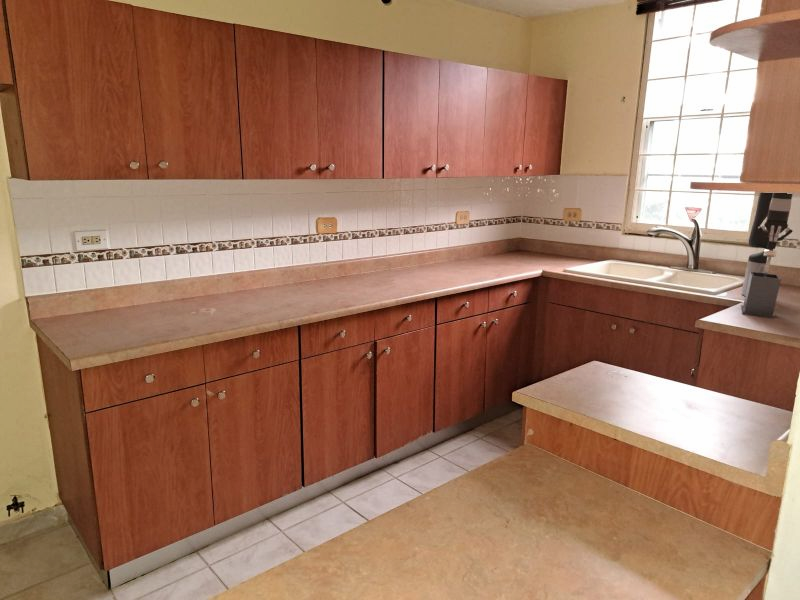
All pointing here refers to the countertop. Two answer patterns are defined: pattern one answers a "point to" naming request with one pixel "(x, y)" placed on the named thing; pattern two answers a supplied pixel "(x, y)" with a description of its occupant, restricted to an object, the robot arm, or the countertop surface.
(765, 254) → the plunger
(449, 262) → the countertop surface
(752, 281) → the dark grey upright box
